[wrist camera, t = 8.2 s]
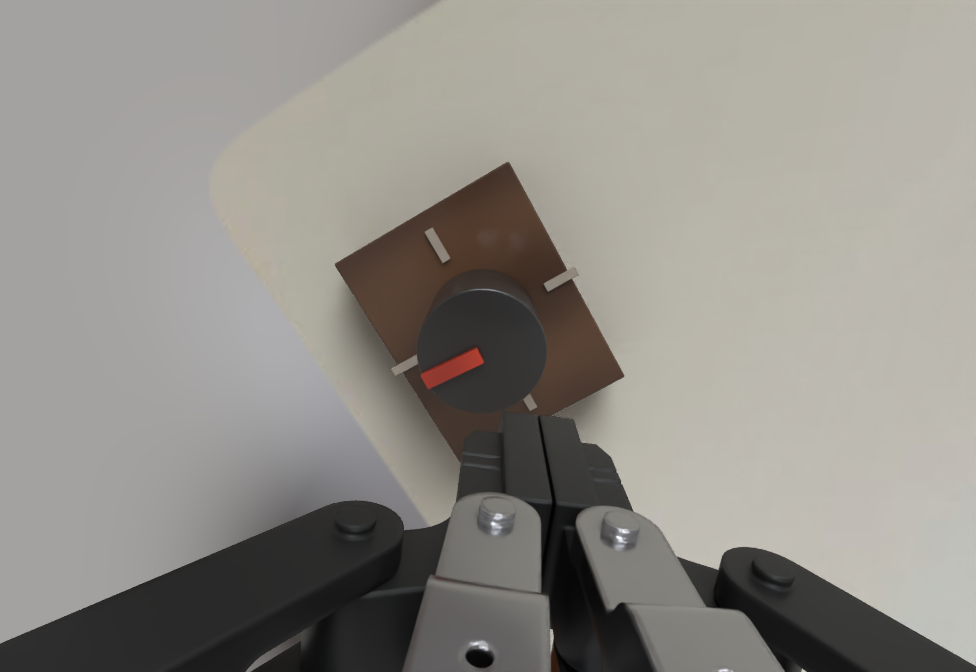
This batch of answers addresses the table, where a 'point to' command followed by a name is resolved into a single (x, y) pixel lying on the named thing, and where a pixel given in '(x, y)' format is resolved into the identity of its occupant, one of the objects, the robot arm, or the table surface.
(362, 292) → the panel
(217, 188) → the table surface
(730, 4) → the table surface
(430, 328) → the lock knob
